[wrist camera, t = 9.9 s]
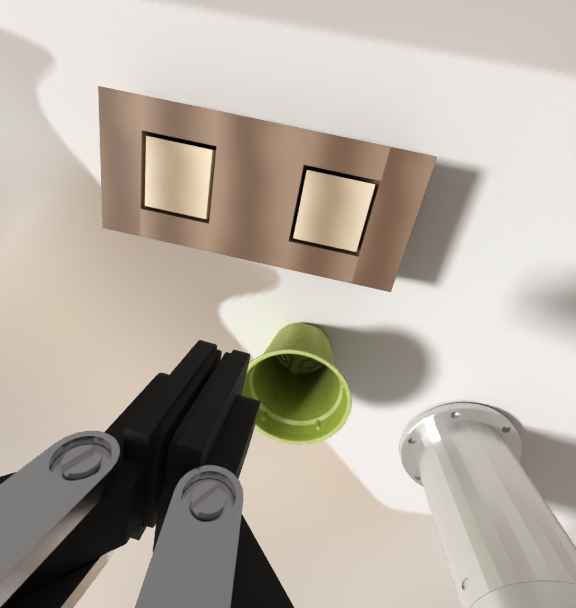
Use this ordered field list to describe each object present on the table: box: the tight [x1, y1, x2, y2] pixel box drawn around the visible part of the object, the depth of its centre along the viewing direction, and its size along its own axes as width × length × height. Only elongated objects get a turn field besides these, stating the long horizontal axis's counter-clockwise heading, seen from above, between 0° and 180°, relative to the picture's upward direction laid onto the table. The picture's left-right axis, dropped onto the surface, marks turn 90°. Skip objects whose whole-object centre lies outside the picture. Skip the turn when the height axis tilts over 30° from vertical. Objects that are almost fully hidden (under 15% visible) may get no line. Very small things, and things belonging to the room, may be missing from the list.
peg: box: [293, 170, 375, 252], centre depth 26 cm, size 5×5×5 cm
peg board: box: [98, 86, 437, 292], centre depth 26 cm, size 24×10×5 cm, turn 79°
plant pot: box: [242, 323, 352, 445], centre depth 30 cm, size 9×9×9 cm
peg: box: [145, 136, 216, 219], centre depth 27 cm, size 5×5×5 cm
